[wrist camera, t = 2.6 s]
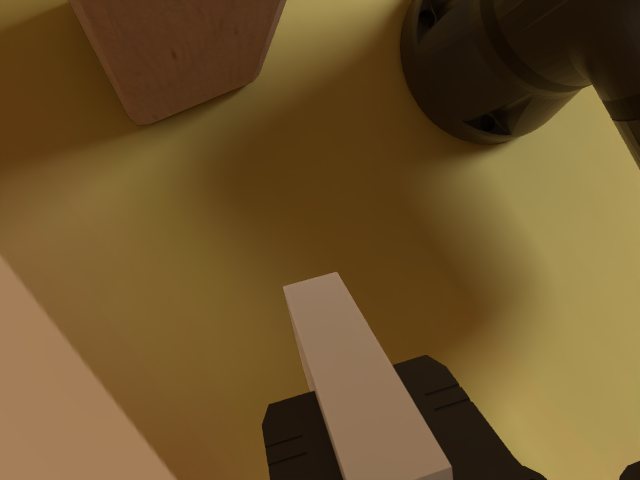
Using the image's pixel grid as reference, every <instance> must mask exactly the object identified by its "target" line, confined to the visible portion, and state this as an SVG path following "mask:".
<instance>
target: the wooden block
mask: <svg viewBox="0 0 640 480" xmlns="http://www.w3.org/2000/svg"><path fill="white" fill-rule="evenodd" d="M68 1H69V3H70V5H71V7H72V9H73V11H74V13H75V15H76V17H77V18H78V20H79V22H80V24H81V26H82V28H83V30H84V32H85V34H86V36H87V38H88V40H89V42H90V44H91V46H92V48H93V49H94V51H95V53H96V55H97V57H98V59H99V61H100V63H101V65H102V67H103V69H104V71H105V73H106V75H107V77H108V79H109V80H110V82H111V84H112V86H113V88H114V90H115V92H116V94H117V96H118V98H119V100H120V102H121V104H122V106H123V108H124V110H125V111H126V113H127V115H128V117H129V118H130V119H131V120H132V121H134V122H135V123H136V124H137V125H149V124H152V123H154V122H157V121H159V120H162V119H164V118H166V117H169V116H171V115H174V114H176V113H178V112H181V111H183V110H186V109H188V108H191V107H193V106H195V105H198V104H200V103H203V102H205V101H207V100H210V99H212V98H215V97H217V96H220V95H222V94H224V93H227V92H229V91H232V90H234V89H236V88H239V87H241V86H244V85H246V84H249V83H251V82H253V81H254V80H255V78H256V77H257V76H258V75H259V73H260V71H261V68H262V65H263V62H264V60H265V57H266V54H267V52H268V49H269V46H270V44H271V41H272V38H273V35H274V33H275V30H276V27H277V25H278V22H279V19H280V17H281V14H282V11H283V8H284V6H285V3H286V0H68Z"/></svg>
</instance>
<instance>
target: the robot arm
mask: <svg viewBox="0 0 640 480" xmlns="http://www.w3.org/2000/svg"><path fill="white" fill-rule="evenodd" d="M401 58H402V65H403V69H404V74H405V77H406V80H407V83H408V85H409V88H410V90H411V92H412V94H413V96H414V98H415V99H416V101H417V103H418V104H419V106H420V107H421V108H422V110H423V111H424V112H425V113H426V114H427V116H428V117H429V118H430V119H431V120H432V121H433V122H434V123H436V124H437V125H438V126H439V127H441V128H442V129H443V130H445V131H446V132H448V133H450V134H451V135H453V136H455V137H457V138H460V139H462V140H465V141H469V142H473V143H479V144H496V143H502V142H506V141H509V140H512V139H515V138H518V137H520V136H523V135H526V134H528V133H530V132H532V131H534V130H536V129H538V128H539V127H541V126H542V125H544V124H545V123H546V122H547V121H549V120H550V119H551V118H552V117H553V116H554V115H555V114H556V113H557V112H558V111H559V110H560V109H561V108H562V107H563V106H564V105H565V104H566V103H568V102H569V101H570V100H571V99H572V98H573V97H574V96H575V95H576V94H577V93H578V92H579V91H580V90H581V89H582V88H585V87H587V86H590V85H593V87H594V88H595V90H596V92H597V94H598V96H599V97H600V99H601V100H602V102H603V104H604V106H605V107H606V109H607V111H608V113H609V114H610V117H611V118H612V120H613V122H614V124H615V125H616V127H617V129H618V131H619V133H620V135H621V136H622V138H623V140H624V142H625V144H626V145H627V147H628V149H629V151H630V153H631V155H632V156H633V158H634V160H635V162H636V164H637V165H638V167H639V169H640V0H413V1H412V3H411V5H410V7H409V9H408V11H407V14H406V17H405V20H404V24H403V28H402V35H401ZM283 290H284V294H285V298H286V302H287V306H288V310H289V315H290V319H291V323H292V327H293V331H294V335H295V339H296V343H297V347H298V351H299V355H300V359H301V363H302V367H303V371H304V374H305V377H306V380H307V383H308V387H309V390H310V392H308V393H305V394H302V395H298V396H295V397H292V398H289V399H285V400H282V401H279V402H276V403H272V404H269V405H268V408H267V411H266V414H265V417H264V420H263V423H262V430H263V436H264V443H265V448H266V455H267V462H268V467H269V475H270V480H547V479H546V478H545V477H544V476H543V475H542V474H540V473H538V472H536V471H533V470H531V469H529V468H527V467H525V466H522V465H521V464H520V463H519V462H518V461H517V460H516V459H515V457H514V456H513V455H512V454H511V452H510V451H509V450H508V448H507V447H506V446H505V444H504V443H503V442H502V440H501V439H500V438H499V436H498V435H497V434H496V433H495V431H494V430H493V429H492V427H491V426H490V425H489V423H488V422H487V421H486V419H485V418H484V417H483V415H482V414H481V413H480V411H479V410H478V409H477V407H476V406H475V405H474V403H473V402H471V401H470V398H469V397H468V395H467V394H466V393H465V391H464V390H463V389H462V387H460V386H459V383H458V382H457V381H456V379H455V378H454V377H453V375H452V374H451V373H450V371H449V370H448V369H447V367H446V366H444V365H442V364H441V363H439V362H437V361H436V360H434V359H432V358H431V357H429V356H427V355H424V356H421V357H418V358H414V359H411V360H408V361H405V362H401V363H398V364H395V365H392V364H391V363H390V361H389V359H388V358H387V356H386V354H385V352H384V351H383V349H382V347H381V346H380V344H379V342H378V341H377V339H376V337H375V335H374V334H373V332H372V330H371V329H370V327H369V325H368V324H367V322H366V320H365V318H364V317H363V315H362V313H361V312H360V310H359V308H358V307H357V305H356V303H355V301H354V300H353V298H352V296H351V295H350V293H349V291H348V290H347V288H346V286H345V285H344V283H343V281H342V279H341V278H340V276H339V274H338V273H337V272H333V273H330V274H326V275H322V276H319V277H315V278H312V279H308V280H304V281H301V282H297V283H293V284H290V285H286V286H283ZM619 480H640V461H638V462H636V463H633V464H631V465H628V466H627V467H626V469H625V470H624V471H623V473H622V474H621V475H620V477H619Z"/></svg>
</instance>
